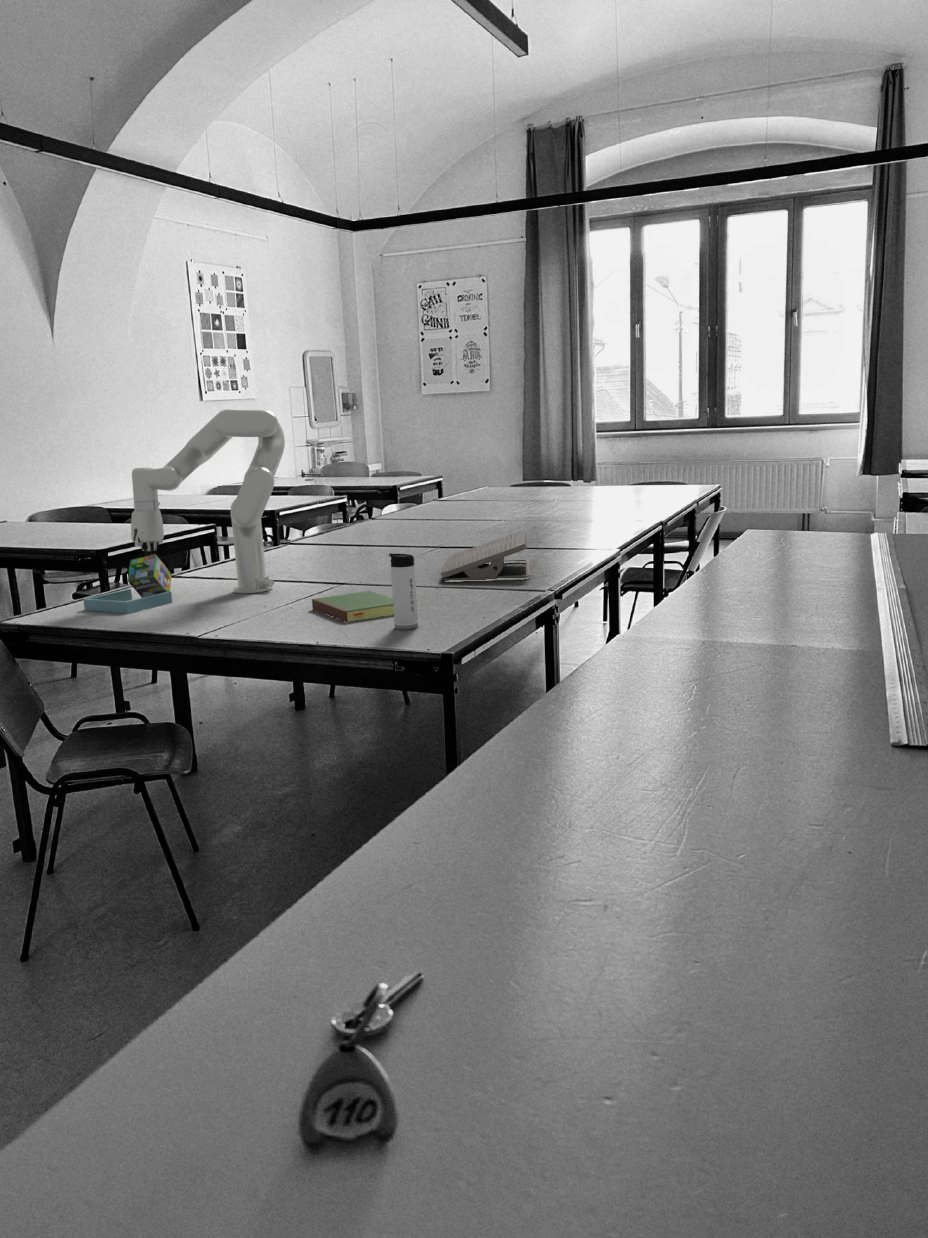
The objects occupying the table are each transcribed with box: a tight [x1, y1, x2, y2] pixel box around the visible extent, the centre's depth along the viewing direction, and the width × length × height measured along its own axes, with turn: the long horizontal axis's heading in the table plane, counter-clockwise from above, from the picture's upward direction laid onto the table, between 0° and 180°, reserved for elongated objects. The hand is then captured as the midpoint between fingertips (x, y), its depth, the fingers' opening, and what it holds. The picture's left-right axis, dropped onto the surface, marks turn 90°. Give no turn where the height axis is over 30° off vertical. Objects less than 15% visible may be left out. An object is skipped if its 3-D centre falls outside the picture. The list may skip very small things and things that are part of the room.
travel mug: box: [388, 552, 419, 631], centre depth 261 cm, size 6×7×20 cm
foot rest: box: [439, 530, 531, 581], centre depth 344 cm, size 39×30×13 cm
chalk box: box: [127, 553, 173, 598], centre depth 318 cm, size 9×9×15 cm
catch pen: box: [83, 588, 173, 615], centre depth 313 cm, size 19×18×4 cm
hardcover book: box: [311, 590, 394, 623], centre depth 287 cm, size 25×19×4 cm
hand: (150, 562), depth 321 cm, fingers closed
